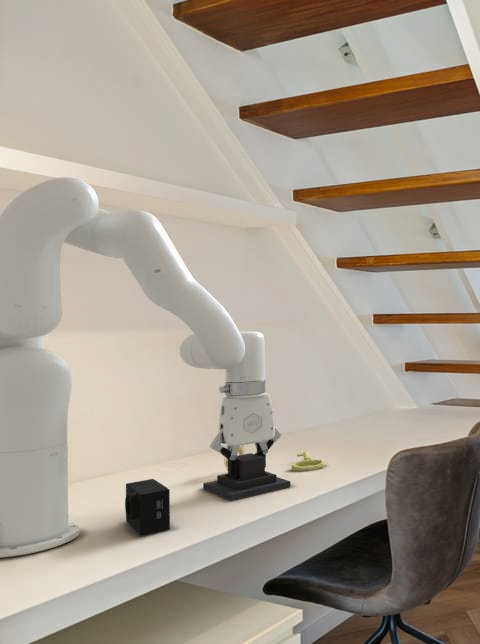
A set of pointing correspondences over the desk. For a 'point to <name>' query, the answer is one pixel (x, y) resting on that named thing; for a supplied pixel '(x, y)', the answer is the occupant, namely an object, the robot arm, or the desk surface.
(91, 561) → the desk surface
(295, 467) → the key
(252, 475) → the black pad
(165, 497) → the digital camera
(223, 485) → the base pad
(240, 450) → the ring
